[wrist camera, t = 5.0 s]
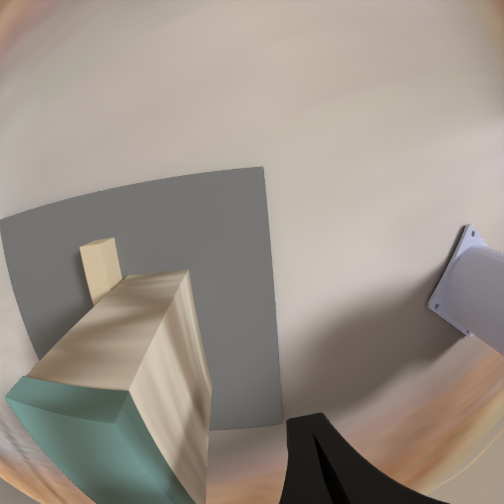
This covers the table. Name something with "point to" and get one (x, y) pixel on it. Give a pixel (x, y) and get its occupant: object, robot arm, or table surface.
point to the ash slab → (126, 396)
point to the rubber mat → (161, 260)
